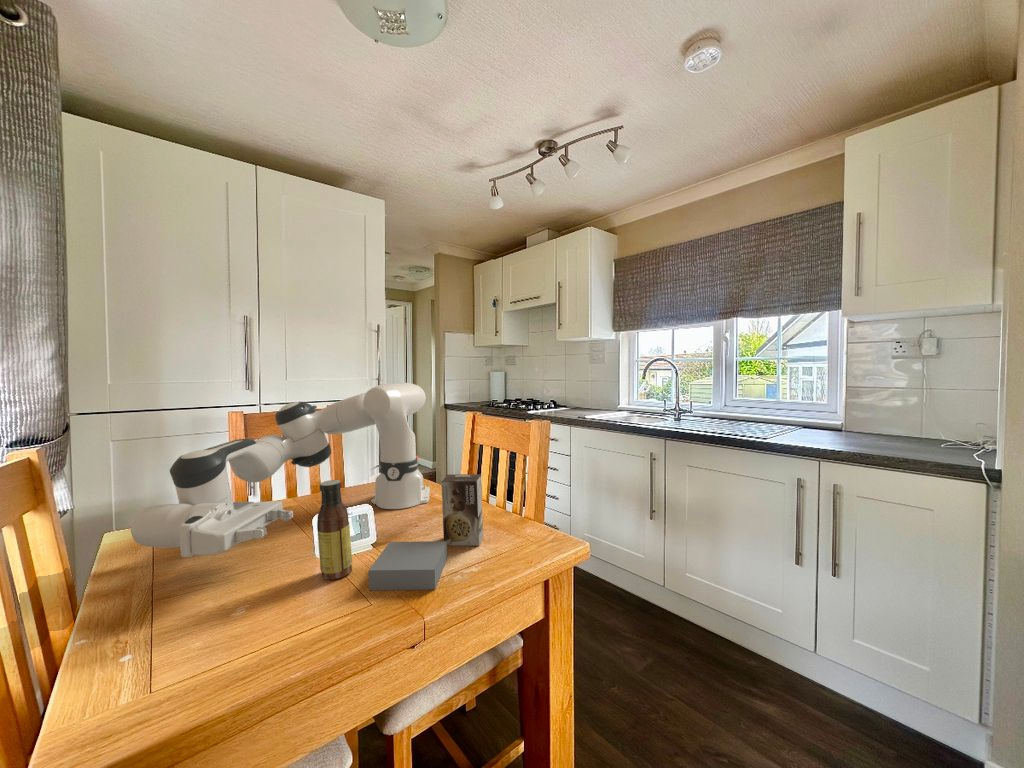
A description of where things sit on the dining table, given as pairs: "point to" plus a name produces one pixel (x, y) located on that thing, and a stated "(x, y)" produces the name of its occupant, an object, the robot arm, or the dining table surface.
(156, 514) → the robot arm
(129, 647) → the dining table surface
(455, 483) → the coffee box
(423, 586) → the stand
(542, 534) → the dining table surface
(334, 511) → the sauce bottle
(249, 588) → the dining table surface
